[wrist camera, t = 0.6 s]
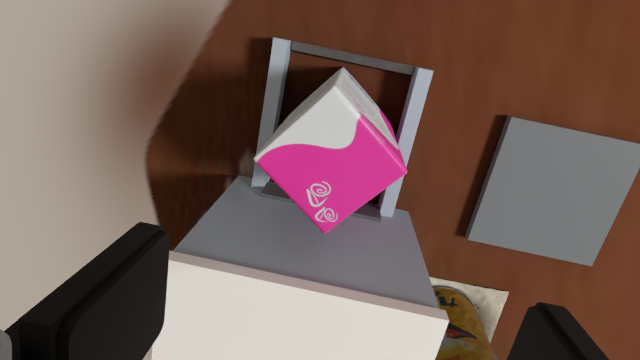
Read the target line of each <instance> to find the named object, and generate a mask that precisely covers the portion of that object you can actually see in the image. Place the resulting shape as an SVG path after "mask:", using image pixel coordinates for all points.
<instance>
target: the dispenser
mask: <svg viewBox="0 0 640 360" xmlns="http://www.w3.org/2000/svg"><path fill="white" fill-rule="evenodd" d="M291 45H292V41H291V40H286V39H282V38H273V44H272V51H271V57H270V64H269V71H268V77H267V84H266V91H265V97H264V104H263V111H262V118H261V124H260V131H259V138H258V144H257V151H256V154H257V153H258V151H259V150H260V149H261V148H262V147H263V145H264V144H265V143H266V142H267V141H268V140H269V138H270V137H271V136H272V135H273V134H274V132H275V131H276V130H277V129H278V124H279V118H280V112H281V106H282V100H283V94H284V88H285V82H286V76H287V70H288V63H289V57H290V51H291ZM432 75H433V71H432V70H429V69H425V68H420V67H414V71H413V74H412V78H411V82H410V86H409V90H408V93H407V97H406V101H405V105H404V108H403V112H402V116H401V120H400V123H399V127H398V131H397V135H396V141H397V143H398V146H399V149H400V152H401V154H402V157H403V160H404V163H405V166H406V167H407V163H408V160H409V156H410V152H411V149H412V145H413V142H414V138H415V135H416V131H417V128H418V124H419V121H420V117H421V113H422V110H423V106H424V103H425V99H426V96H427V92H428V89H429V85H430V82H431V78H432ZM403 177H404V176H402V177H401V178H400V179H398V180H397V181H396V182H394V183H393V184H391V185H390V186H389V187H387V188H386V189H385V190H383V191H382V192H381V195H380V198H379V202H378V205H376V204H372V203H365V204H364V205H363V206H361V207H360V208H359V209H357V210H356V211H354V212H353V213H352V214H350V215H349V216H348V217H346V218H345V219H344V220H343V221H341V222H340V223H339V224H338V225H336V226H335V227H334V228H332V229H331V230H329V231H328V232H327V233H325V234H324V233H323V232H322V231H321V230H320V229H319V228H318V227H317V226H316V225H315V224H314V223H313V222H312V220H311V219H310V218H309V217H308V216H307V215H306V214H305V213H304V212H303V211H302V210H301V209H300V208H299V207H298V206H297V205H296V204H295V203H294V202H293V201H292V200H291V198H290V197H289V196H288V195H287V194H286V193H285V192H284V191H283V190H282V189H281V188H280V187H279V186H278V185H277V184H276V183H274V182H269V179H270V177H269V176H268V175H267V173H266V172H265V171H264V170H263V169H262V168H261V167H260V166H259V165H258V164H257V163H256V162H255V165H254V171H253V178H250V177H246V176H241V175H239V176H238V177H237V178H236V179H235V180H234V181H233V183H232V184H231V185H230V186H229V187H228V188H227V189H226V191H225V192H224V193H223V194H222V195H221V196H220V197H219V199H218V200H217V201H216V202H215V203H214V204H213V205H212V207H211V208H210V209H209V210H208V211H207V212H206V213H205V215H204V216H203V217H202V218H201V219H200V220H199V221H198V223H197V224H196V225H195V226H194V227H193V228H192V229H191V231H190V232H189V233H188V234H187V235H186V236H185V237H184V239H183V240H182V241H181V242H180V243H179V244H178V245H177V247H176V248H175V249H174V250H173V251H169V263H168V277H167V291H166V304H165V318H164V324H163V327H162V330H161V332H160V334H159V336H158V337H157V339H156V340H155V342H154V343H153V350H152V360H435V358H436V356H437V353H438V350H439V348H440V345H441V342H442V339H443V337H444V334H445V331H446V329H447V326H448V323H449V318H448V315H447V312H446V310H441V309H439V306H438V303H437V300H436V297H435V293H434V290H433V287H432V284H431V281H430V278H429V275H428V272H427V268H426V265H425V262H424V259H423V256H422V253H421V250H420V247H419V244H418V240H417V237H416V234H415V231H414V228H413V225H412V222H411V219H410V215H409V212H408V211H404V210H400V209H395V206H396V202H397V199H398V195H399V191H400V188H401V184H402V181H403Z"/></svg>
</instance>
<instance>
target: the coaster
mask: <svg viewBox="0 0 640 360" xmlns="http://www.w3.org/2000/svg"><path fill="white" fill-rule="evenodd" d="M639 168H640V143H638V142H633V141H628V140H623V139H619V138H614V137H609V136H604V135H600V134H595V133H590V132H585V131H581V130H576V129H571V128H566V127H562V126H557V125H552V124H547V123H543V122H538V121H533V120H528V119H524V118H519V117H514V116H509V115H508V116H507V119H506V121H505V124H504V127H503V130H502V133H501V136H500V138H499V141H498V144H497V147H496V150H495V152H494V155H493V158H492V161H491V164H490V167H489V169H488V172H487V175H486V178H485V181H484V183H483V186H482V189H481V192H480V195H479V198H478V200H477V203H476V206H475V209H474V212H473V214H472V217H471V220H470V223H469V226H468V229H467V231H466V234H465V236H466V238H467V239H468V240H471V241H476V242H481V243H485V244H490V245H495V246H499V247H504V248H509V249H513V250H518V251H523V252H527V253H532V254H537V255H541V256H546V257H551V258H555V259H560V260H565V261H569V262H574V263H579V264H583V265H588V266H592V265H593V263H594V261H595V259H596V257H597V254H598V252H599V250H600V248H601V246H602V244H603V242H604V240H605V238H606V236H607V234H608V232H609V230H610V228H611V226H612V224H613V222H614V220H615V218H616V215H617V213H618V211H619V209H620V207H621V205H622V203H623V201H624V199H625V197H626V195H627V193H628V191H629V189H630V187H631V185H632V183H633V181H634V178H635V176H636V174H637V172H638V170H639Z"/></svg>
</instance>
